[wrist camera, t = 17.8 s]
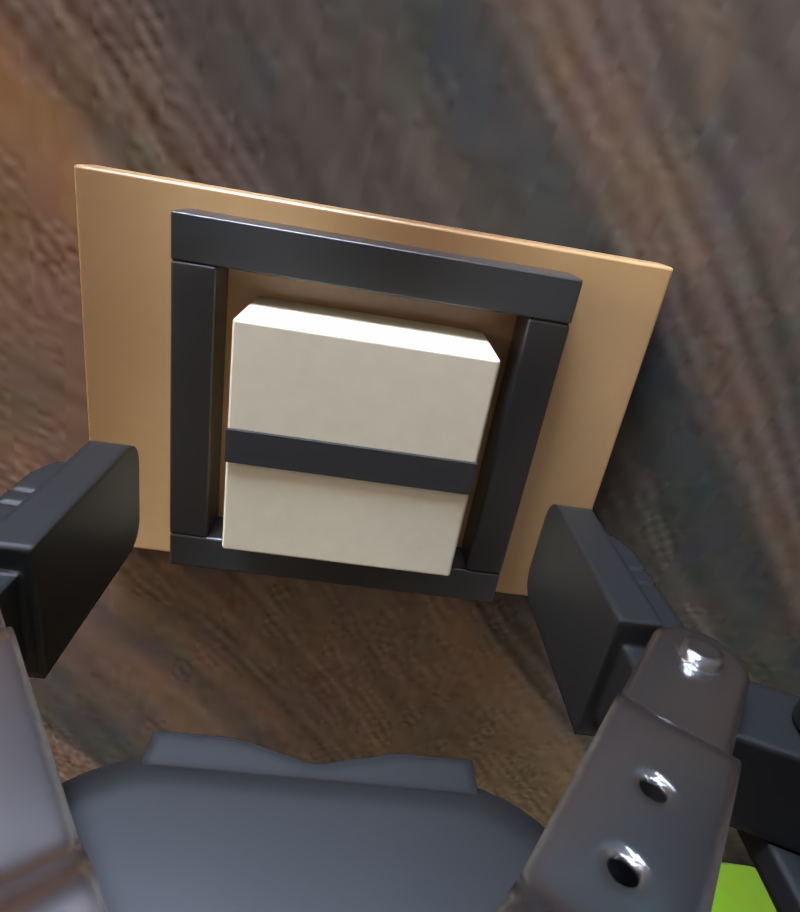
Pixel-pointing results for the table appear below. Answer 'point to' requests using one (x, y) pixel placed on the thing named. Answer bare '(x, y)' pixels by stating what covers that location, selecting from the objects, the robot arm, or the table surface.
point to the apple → (740, 890)
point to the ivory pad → (352, 435)
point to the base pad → (361, 290)
